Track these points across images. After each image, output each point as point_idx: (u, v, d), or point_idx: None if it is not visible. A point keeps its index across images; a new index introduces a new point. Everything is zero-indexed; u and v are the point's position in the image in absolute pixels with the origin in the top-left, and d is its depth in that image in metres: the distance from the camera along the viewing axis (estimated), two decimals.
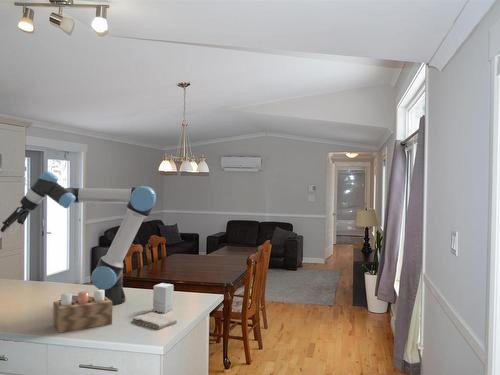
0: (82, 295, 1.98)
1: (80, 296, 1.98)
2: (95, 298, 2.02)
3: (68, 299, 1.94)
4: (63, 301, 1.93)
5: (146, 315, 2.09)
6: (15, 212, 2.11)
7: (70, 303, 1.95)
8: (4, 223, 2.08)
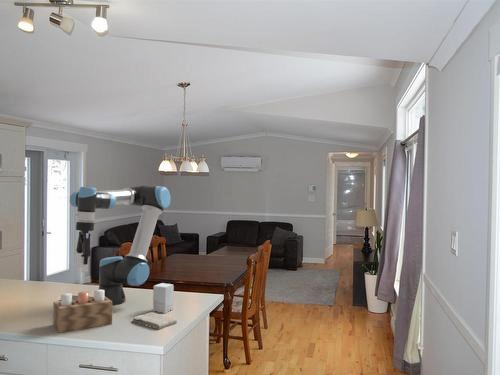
0: (82, 295, 1.98)
1: (80, 296, 1.98)
2: (95, 298, 2.02)
3: (68, 299, 1.94)
4: (63, 301, 1.93)
5: (146, 315, 2.09)
6: (86, 239, 1.95)
7: (70, 303, 1.95)
8: (86, 254, 1.92)
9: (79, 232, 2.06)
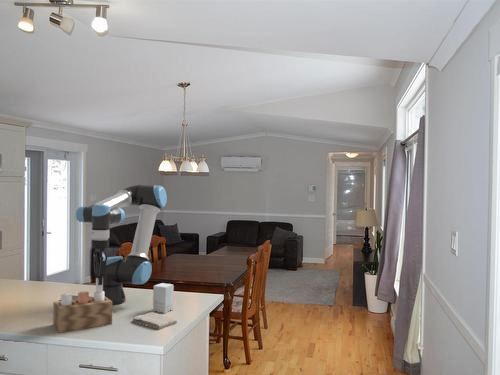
0: (82, 295, 1.98)
1: (80, 296, 1.98)
2: (95, 299, 2.02)
3: (68, 299, 1.94)
4: (63, 301, 1.93)
5: (146, 315, 2.09)
6: (102, 262, 1.99)
7: (70, 303, 1.95)
8: (101, 276, 2.00)
9: (93, 253, 2.07)
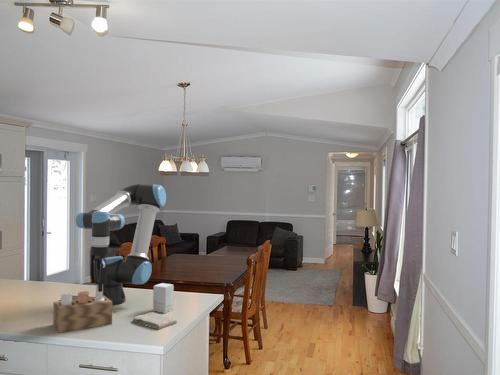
0: (82, 295, 1.98)
1: (80, 296, 1.98)
2: None
3: (68, 299, 1.94)
4: (63, 301, 1.93)
5: (146, 315, 2.09)
6: (102, 269, 1.99)
7: (70, 303, 1.95)
8: (100, 282, 2.00)
9: (93, 259, 2.07)
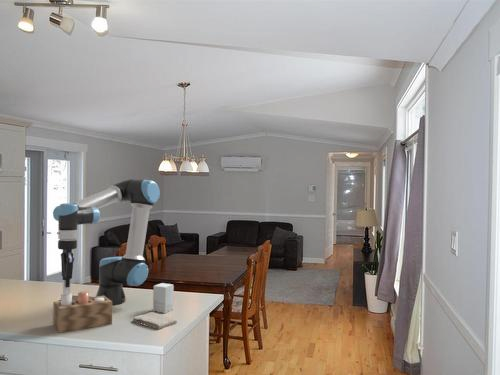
0: (82, 295, 1.98)
1: (80, 296, 1.98)
2: None
3: (68, 299, 1.94)
4: (63, 301, 1.93)
5: (146, 315, 2.09)
6: (69, 264, 1.91)
7: (70, 303, 1.95)
8: (67, 278, 1.92)
9: None
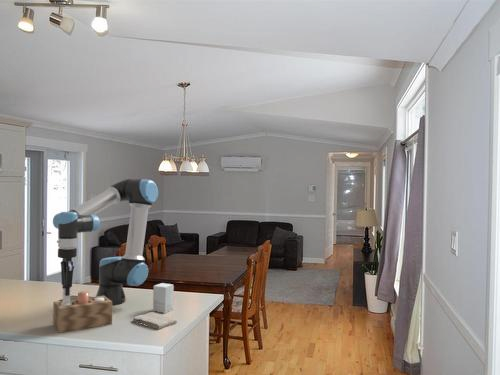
0: (82, 295, 1.98)
1: (80, 296, 1.98)
2: None
3: None
4: None
5: (146, 315, 2.09)
6: (68, 272, 1.91)
7: None
8: (67, 286, 1.92)
9: (61, 262, 1.99)
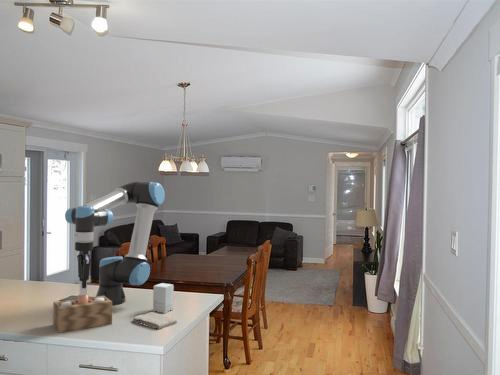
0: (82, 298, 1.98)
1: (80, 299, 1.98)
2: None
3: None
4: None
5: (146, 315, 2.09)
6: (86, 265, 1.95)
7: None
8: (84, 279, 1.96)
9: (77, 255, 2.03)
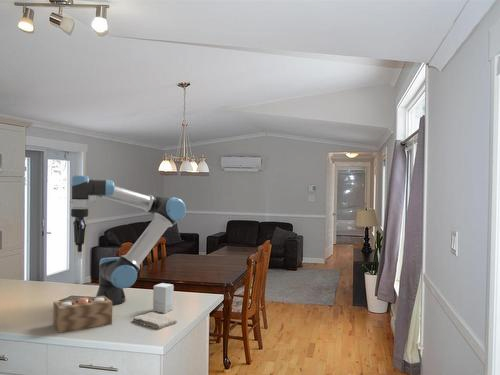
0: (82, 301, 1.98)
1: (80, 302, 1.98)
2: None
3: None
4: None
5: (146, 315, 2.09)
6: (81, 230, 2.09)
7: None
8: (80, 243, 2.10)
9: (73, 222, 2.17)
